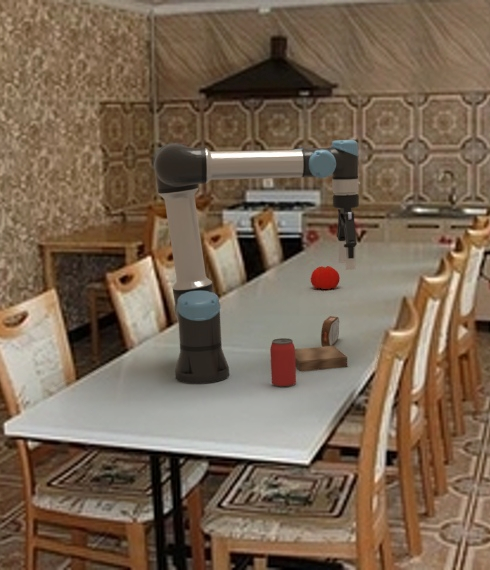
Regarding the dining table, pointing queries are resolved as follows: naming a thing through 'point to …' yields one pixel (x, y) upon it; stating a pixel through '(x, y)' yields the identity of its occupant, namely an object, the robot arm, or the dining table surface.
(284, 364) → the beer can
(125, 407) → the dining table surface
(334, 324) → the tin
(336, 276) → the tomato
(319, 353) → the podium
